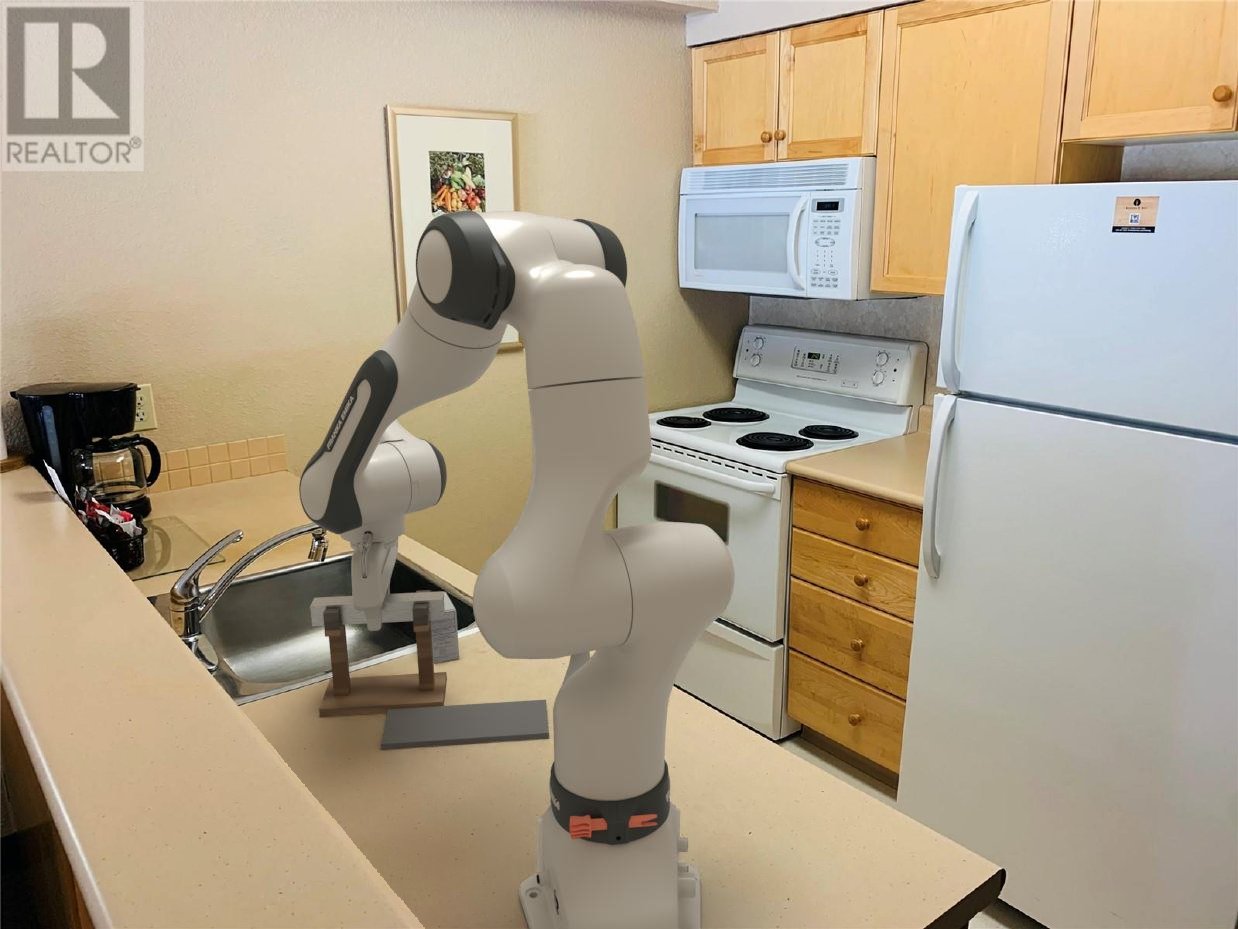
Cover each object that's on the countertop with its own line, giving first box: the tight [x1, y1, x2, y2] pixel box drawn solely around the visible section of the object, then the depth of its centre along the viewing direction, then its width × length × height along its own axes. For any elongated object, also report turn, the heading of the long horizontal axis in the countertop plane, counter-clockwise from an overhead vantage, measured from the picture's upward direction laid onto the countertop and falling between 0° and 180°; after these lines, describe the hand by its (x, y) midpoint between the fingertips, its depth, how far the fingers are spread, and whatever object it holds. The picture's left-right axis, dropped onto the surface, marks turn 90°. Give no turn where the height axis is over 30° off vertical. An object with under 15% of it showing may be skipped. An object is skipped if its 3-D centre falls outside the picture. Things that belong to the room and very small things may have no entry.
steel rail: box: [309, 591, 445, 627], centre depth 135 cm, size 3×18×3 cm, turn 97°
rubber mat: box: [380, 699, 550, 750], centre depth 131 cm, size 9×22×1 cm, turn 97°
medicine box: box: [431, 591, 460, 664], centre depth 151 cm, size 8×4×9 cm, turn 22°
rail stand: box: [318, 589, 448, 718], centre depth 136 cm, size 9×17×15 cm, turn 97°
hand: (379, 614), depth 135 cm, fingers open, 8 cm apart
